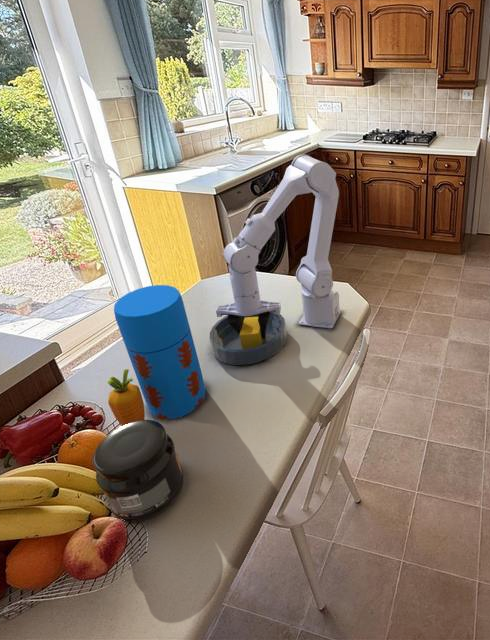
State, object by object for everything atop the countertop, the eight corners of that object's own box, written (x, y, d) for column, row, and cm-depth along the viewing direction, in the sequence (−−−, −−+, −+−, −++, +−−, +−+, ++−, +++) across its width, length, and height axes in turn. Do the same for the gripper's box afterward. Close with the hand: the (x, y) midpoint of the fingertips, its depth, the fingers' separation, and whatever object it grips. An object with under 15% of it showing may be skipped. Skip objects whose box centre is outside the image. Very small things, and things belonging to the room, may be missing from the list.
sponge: (265, 332, 105) (262, 316, 103) (261, 349, 99) (258, 333, 96) (247, 333, 104) (244, 317, 102) (242, 351, 98) (239, 334, 96)
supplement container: (169, 452, 74) (153, 405, 69) (196, 490, 68) (180, 442, 62) (103, 494, 67) (78, 445, 61) (126, 541, 61) (101, 491, 55)
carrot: (147, 418, 81) (126, 360, 74) (158, 432, 78) (137, 373, 71) (119, 434, 77) (94, 375, 70) (130, 449, 74) (105, 389, 68)
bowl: (297, 325, 109) (295, 311, 107) (268, 371, 93) (266, 356, 91) (236, 318, 111) (233, 304, 109) (197, 361, 95) (193, 346, 93)
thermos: (183, 424, 80) (151, 321, 68) (136, 415, 81) (97, 312, 70) (216, 385, 89) (193, 288, 78) (173, 377, 91) (144, 281, 79)
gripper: (279, 280, 99) (285, 325, 106) (217, 283, 97) (226, 329, 103) (276, 295, 93) (282, 342, 99) (209, 299, 91) (220, 347, 97)
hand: (253, 336), depth 101 cm, fingers closed on sponge, 4 cm apart
